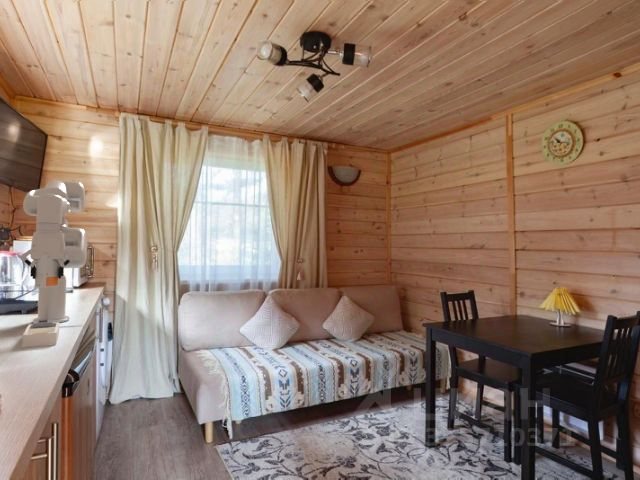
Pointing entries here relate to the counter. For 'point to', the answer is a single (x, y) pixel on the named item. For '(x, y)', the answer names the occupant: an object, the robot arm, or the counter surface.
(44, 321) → the grey square block
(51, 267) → the skincare box
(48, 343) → the cream rectangular tray
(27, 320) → the counter surface
